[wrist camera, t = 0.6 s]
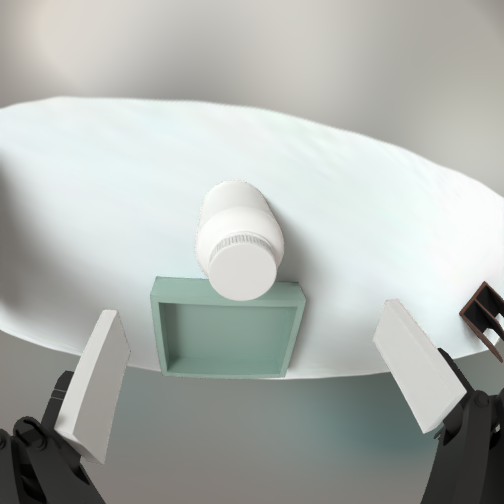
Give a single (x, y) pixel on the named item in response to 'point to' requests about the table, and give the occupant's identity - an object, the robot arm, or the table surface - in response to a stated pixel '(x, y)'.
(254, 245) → the pill bottle
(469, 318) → the letter holder
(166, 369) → the box
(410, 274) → the table surface
